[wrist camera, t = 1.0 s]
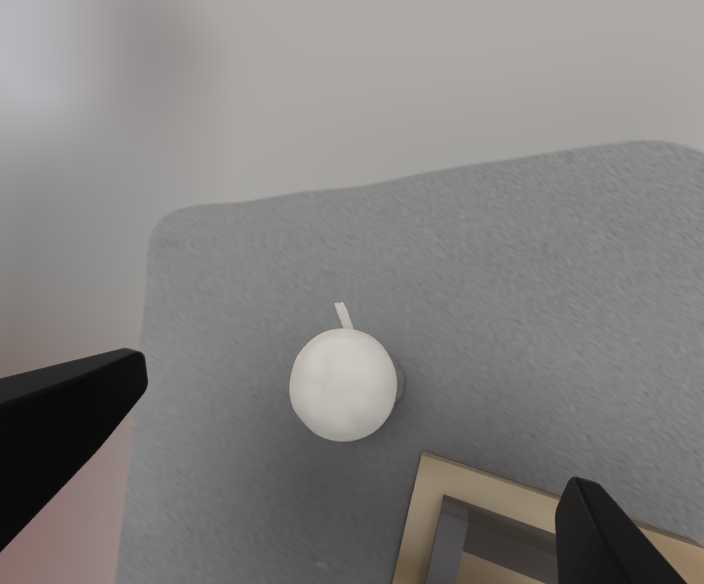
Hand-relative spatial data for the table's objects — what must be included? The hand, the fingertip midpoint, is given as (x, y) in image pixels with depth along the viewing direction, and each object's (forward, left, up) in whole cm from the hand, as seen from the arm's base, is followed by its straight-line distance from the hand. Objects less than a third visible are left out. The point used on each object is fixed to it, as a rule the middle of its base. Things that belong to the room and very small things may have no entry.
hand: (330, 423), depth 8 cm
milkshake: (0, +2, -16) cm, 16 cm away
